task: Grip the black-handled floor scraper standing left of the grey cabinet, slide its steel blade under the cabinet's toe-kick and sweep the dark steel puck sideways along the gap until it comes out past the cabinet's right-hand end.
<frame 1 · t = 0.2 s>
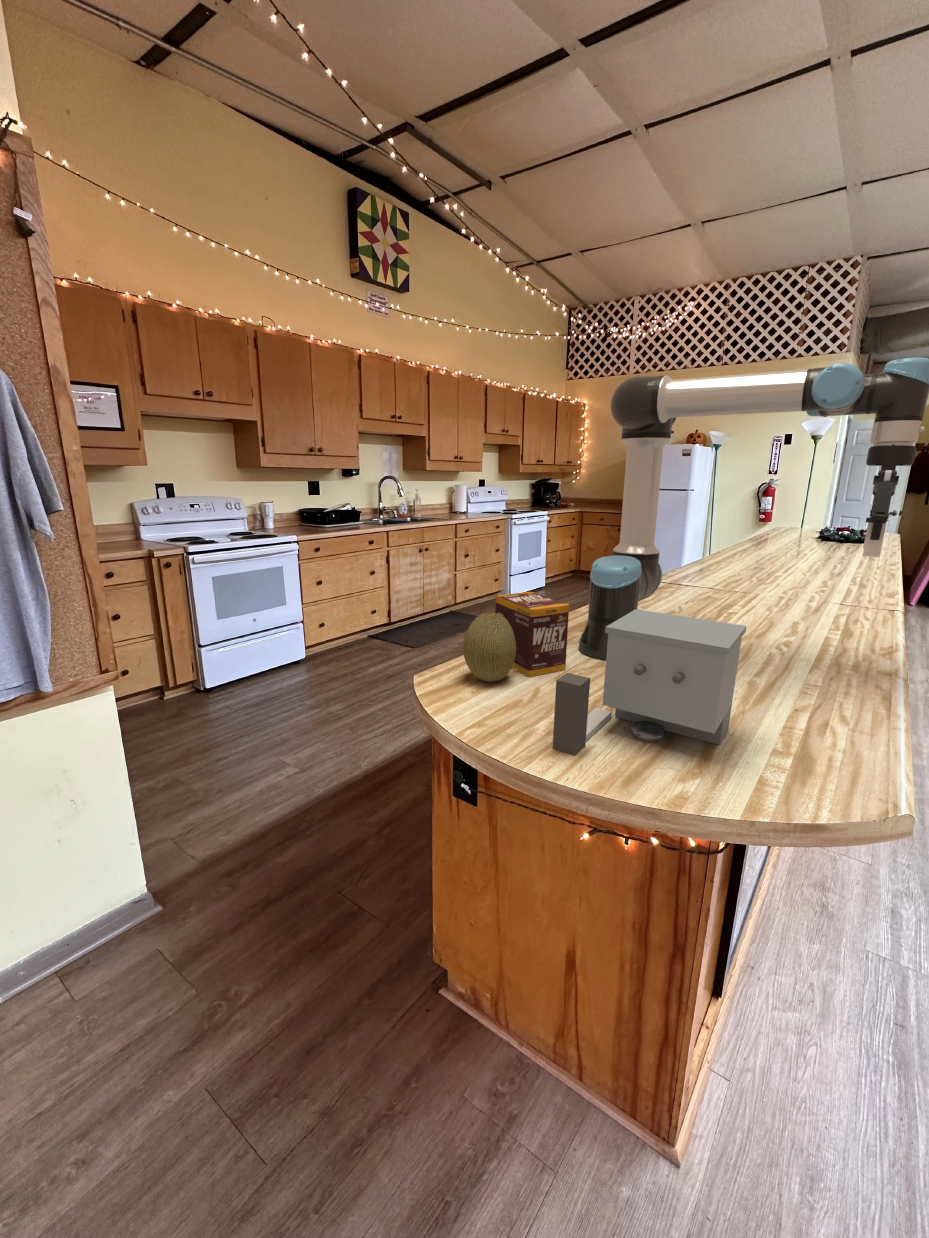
hand: (870, 552, 113), 28 cm above the table, fingers open, 13 cm apart
fruit: (489, 680, 118), on the table
steel puck: (646, 736, 94), on the table
supplement box: (528, 664, 128), on the table
scraper: (569, 747, 89), on the table
cabinet: (664, 730, 95), on the table
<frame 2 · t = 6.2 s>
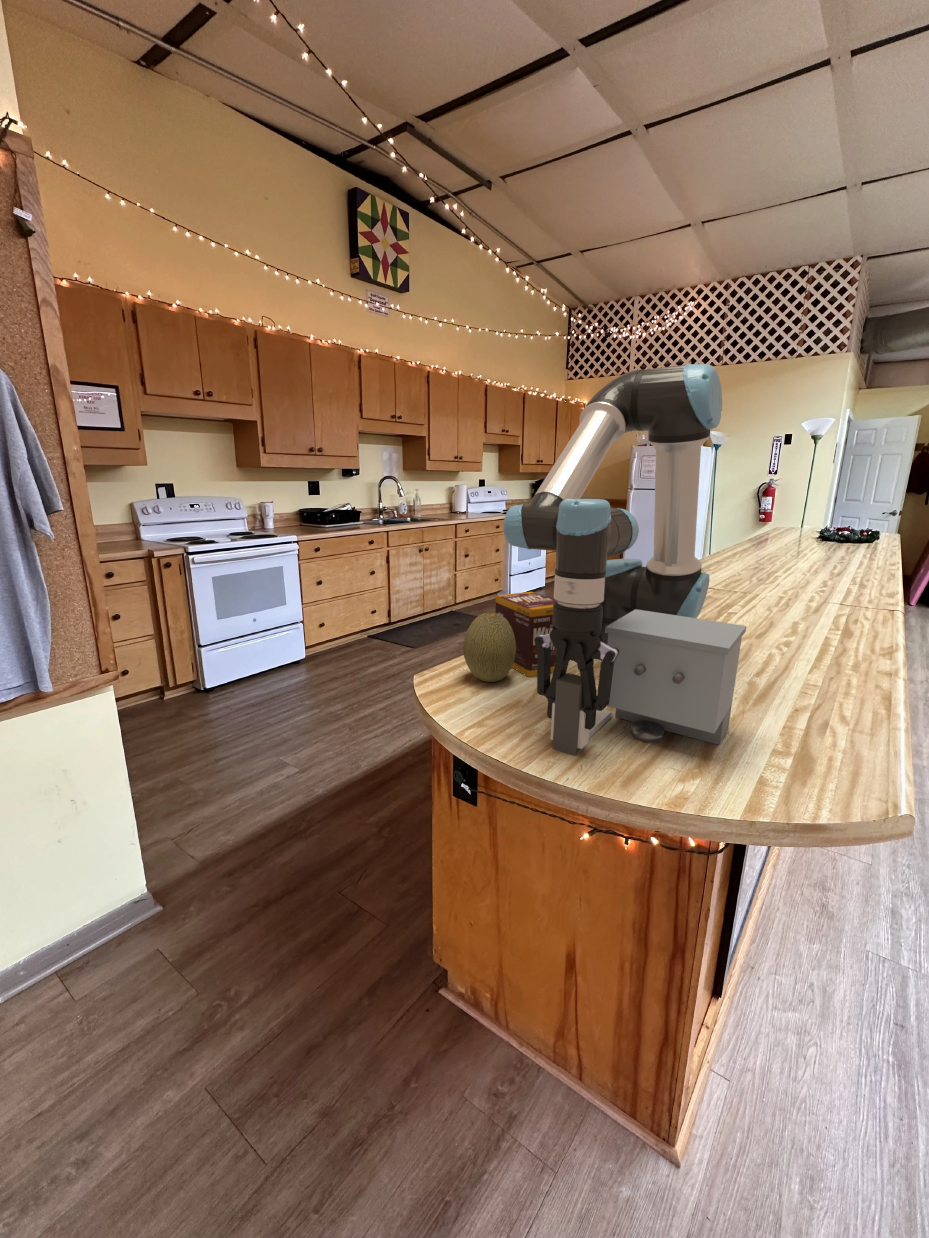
hand: (569, 740, 89), 1 cm above the table, fingers closed on scraper, 4 cm apart
scraper: (569, 747, 89), on the table, touching gripper
everything else where it was.
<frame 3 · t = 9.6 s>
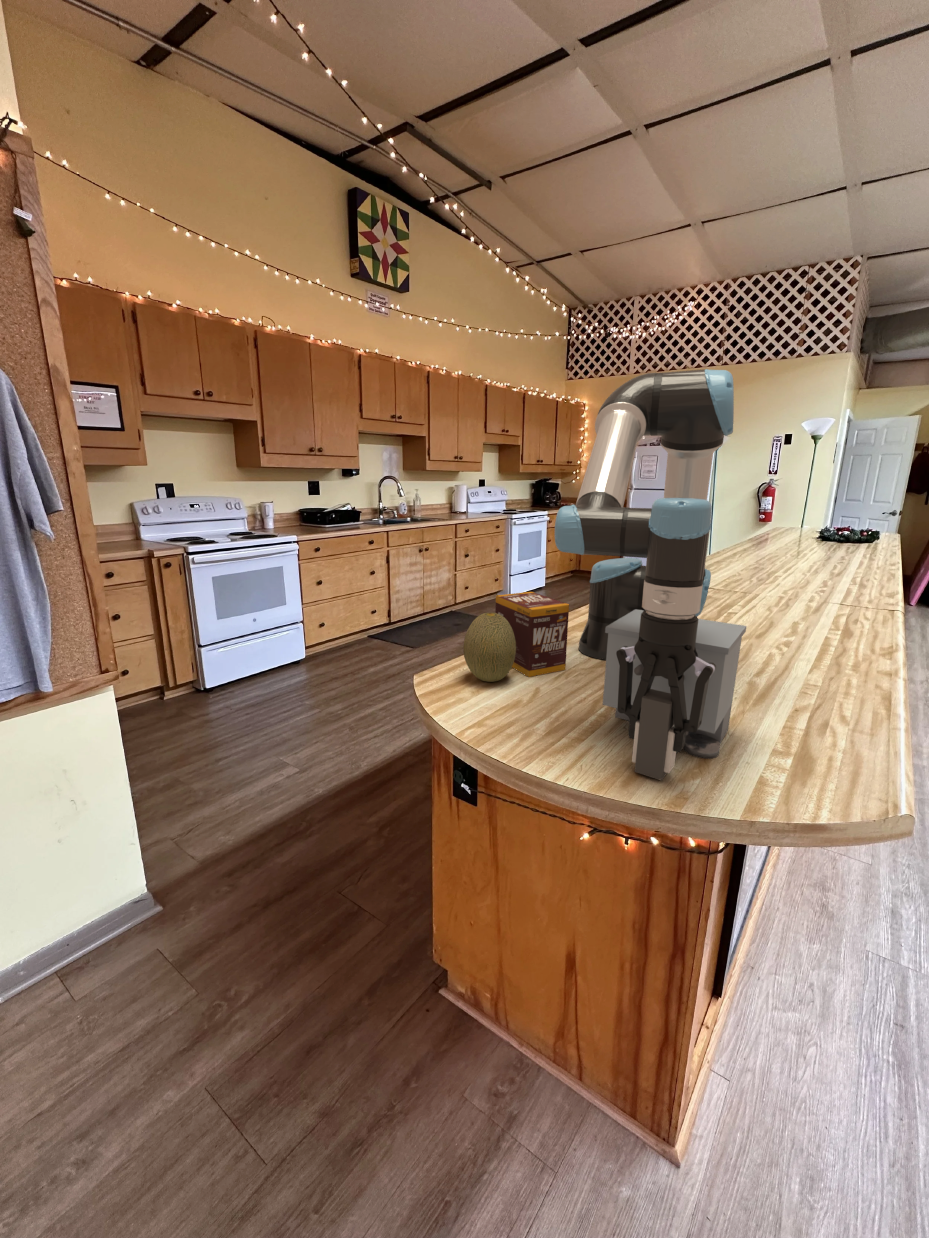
hand: (652, 763, 81), 2 cm above the table, fingers closed on scraper, 4 cm apart
steel puck: (700, 750, 89), on the table
scraper: (652, 770, 82), point 1 cm above the table, touching gripper
everything else where it was.
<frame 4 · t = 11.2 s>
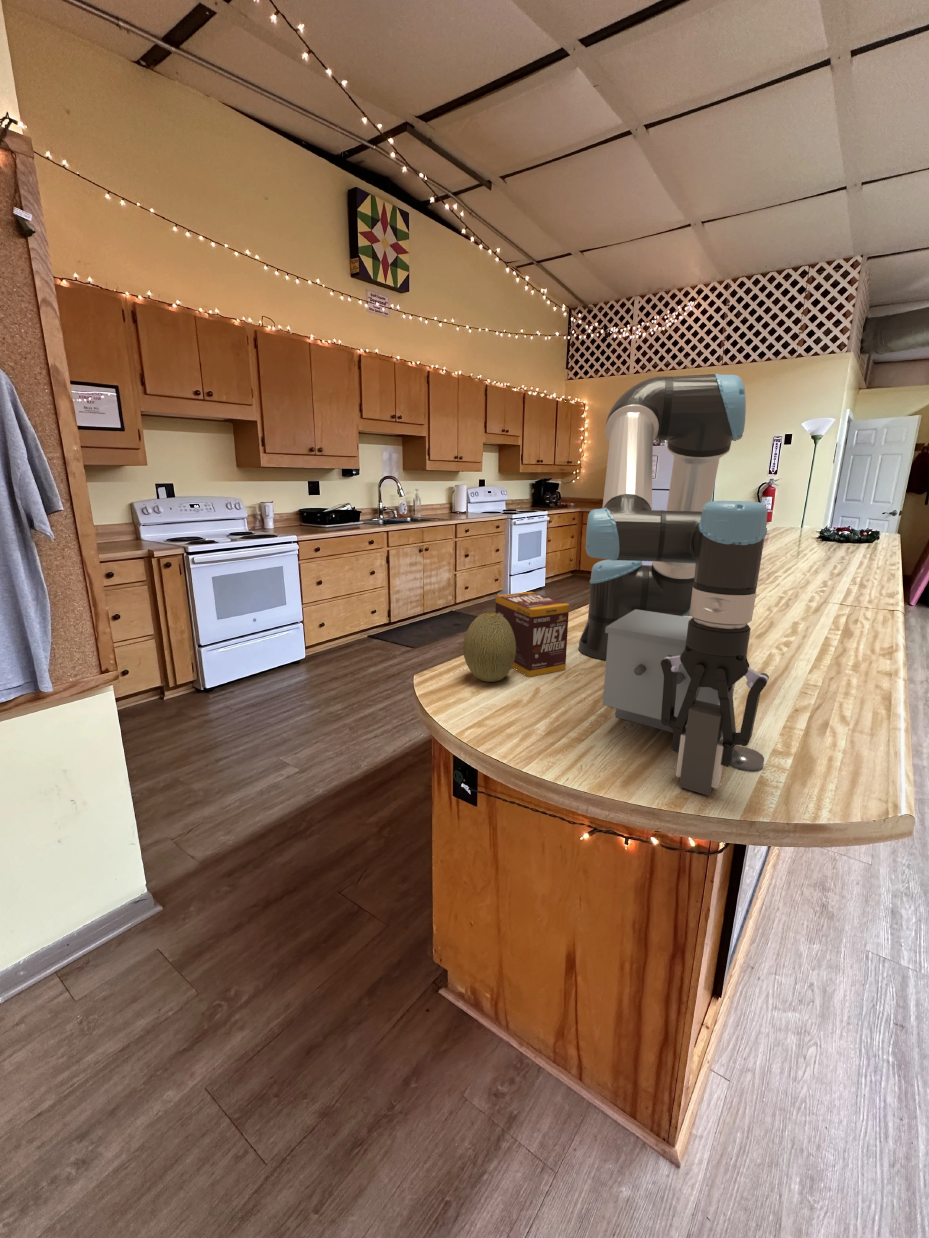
hand: (698, 777, 78), 2 cm above the table, fingers closed on scraper, 4 cm apart
steel puck: (742, 763, 85), on the table
scraper: (697, 784, 78), on the table, touching gripper
everything else where it was.
when the fingers open (1 cm above the table, at t = 12.3 s): scraper stays where it is, on the table.
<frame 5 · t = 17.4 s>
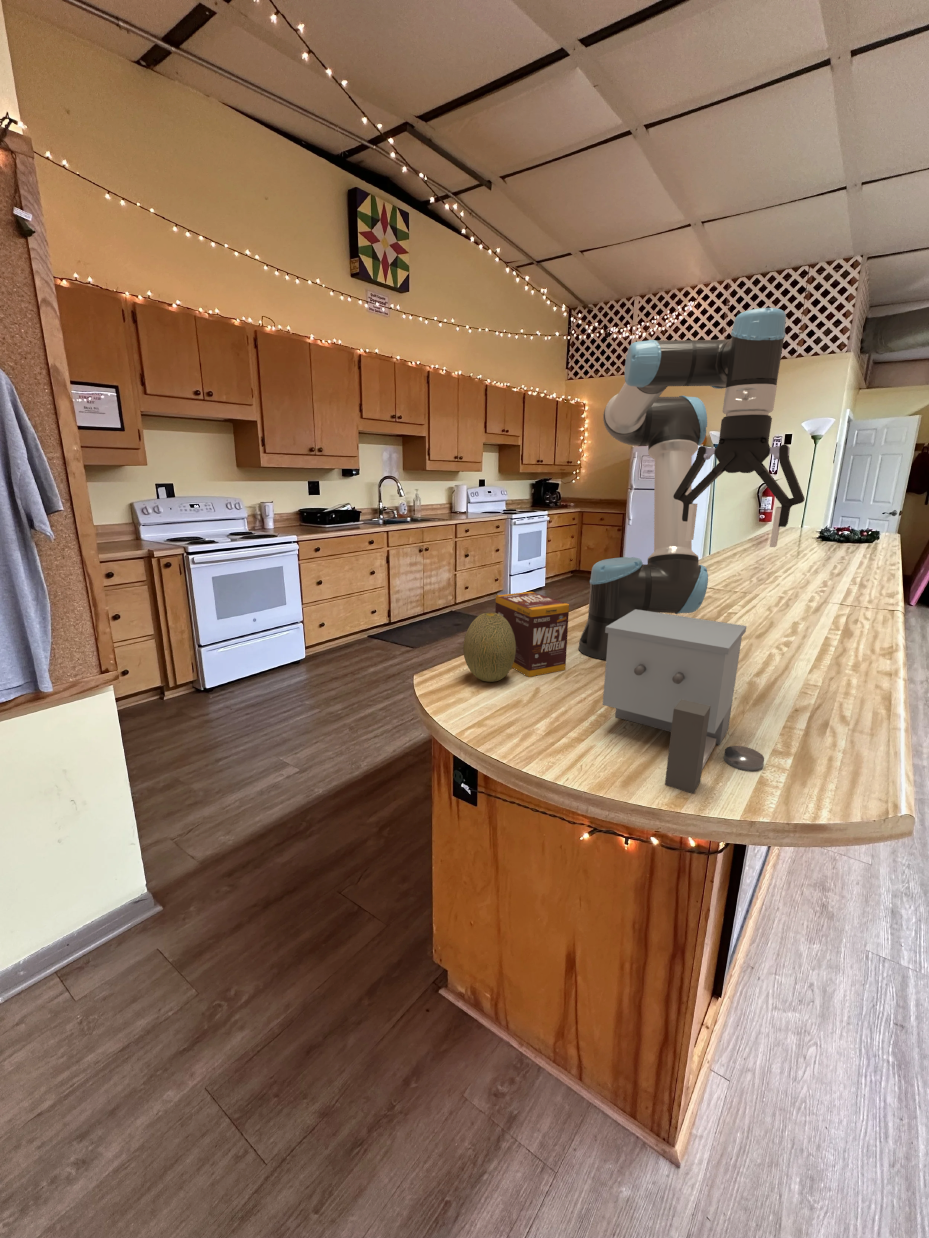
hand: (729, 543, 96), 32 cm above the table, fingers open, 13 cm apart
scraper: (682, 782, 79), on the table
everything else where it was.
at the end: steel puck inside the target area (6.4 cm from its centre), on the table; the gripper is holding nothing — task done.
